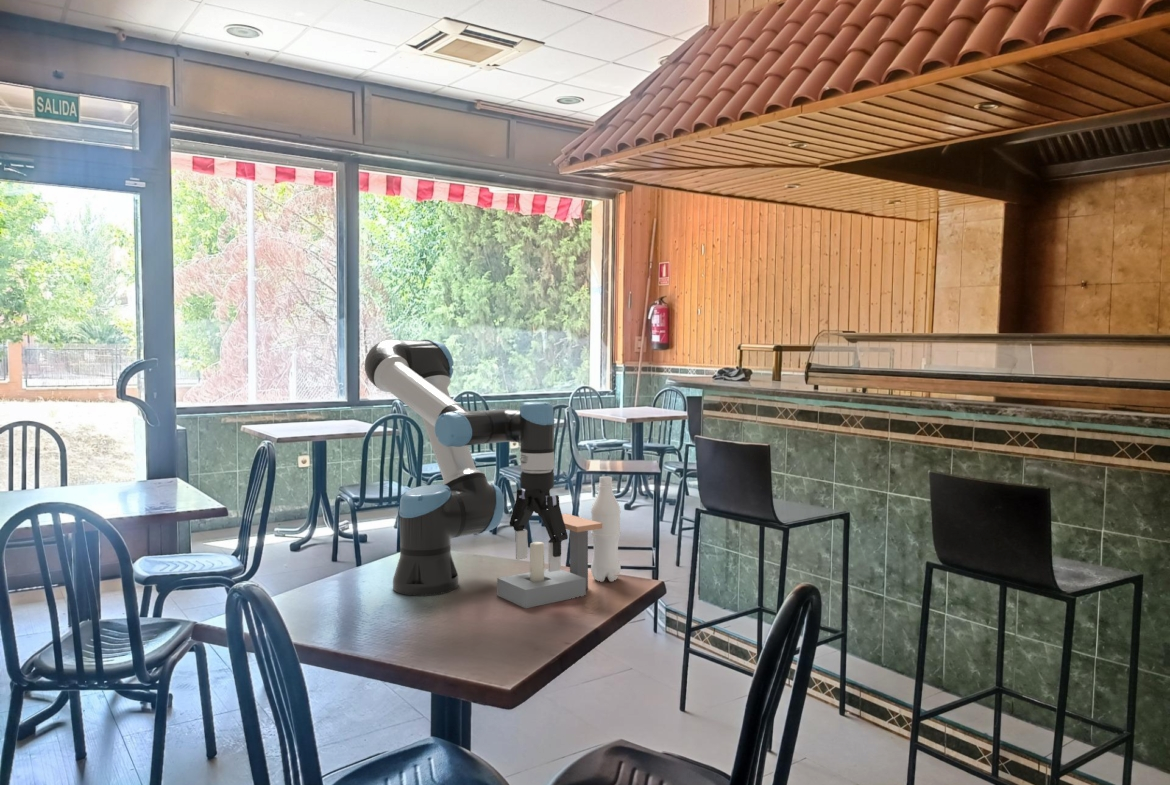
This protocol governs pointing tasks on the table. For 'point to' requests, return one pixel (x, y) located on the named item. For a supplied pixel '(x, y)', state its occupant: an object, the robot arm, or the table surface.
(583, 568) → the wooden topped pedestal
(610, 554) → the water bottle
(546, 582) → the socket block
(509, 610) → the table surface
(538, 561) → the peg
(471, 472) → the robot arm
